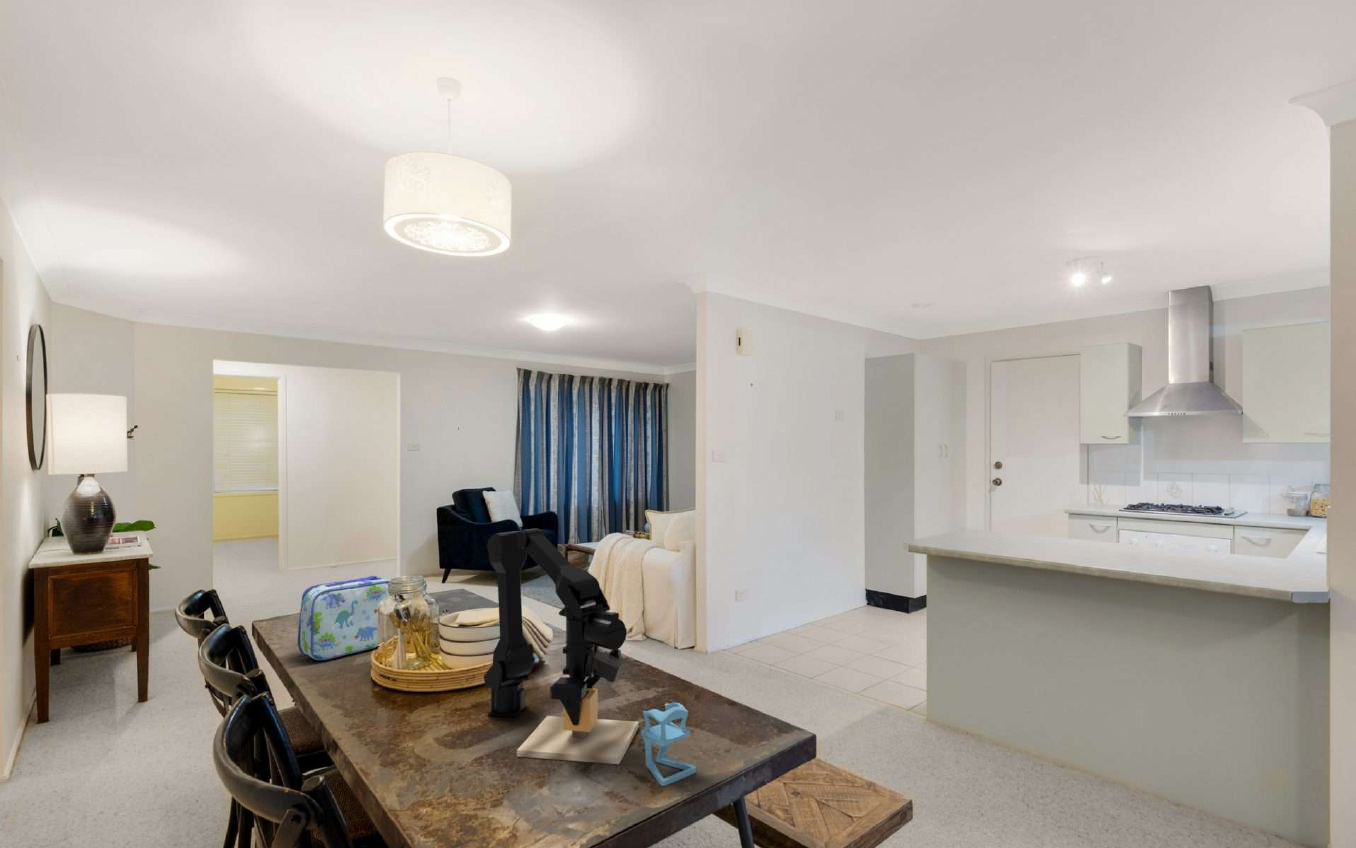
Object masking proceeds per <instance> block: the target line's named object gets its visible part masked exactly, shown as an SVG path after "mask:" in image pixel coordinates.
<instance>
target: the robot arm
mask: <svg viewBox="0 0 1356 848" xmlns="http://www.w3.org/2000/svg"><path fill="white" fill-rule="evenodd" d="M486 546H487V549H486V550H487V552H488V553H487V554H488V558H489V559H488V560H489V563H490V564H491V566H492V568H493V569H494V570H495V572H496V575H497V597H498V598H497V599H498V622H499V623H498V624H499V639H498V642H497V644H496V646H495V648H494V650H493V653H492V654H493V655H492V664H491V666H489V669H487V671H486V673H485V674H484V675H483V681H484V685H485V687H488V688H490V710H489V711H488V712H487V715H488V716H493V717H494V716H495V717H511V718H514V717H517V715H519V713H520V712H522V710H524V709H525V707H526V706H527V703H526V689H525V687H524V681H528V680H529V679H530V675H531V672H532V669H533V665H534V662H535V660H534V659H535V658H534V646H533V644H532V643H529V642H528V641H527V640H526V638H525V637H524V631H523V610H522V609H523V606H522V587H521V586H522V583H521V571H522V568H523V567H524V564H525V561H526V560H527V554H528V555H529V556H530V557H531V558H532V559H533V561H535V563H537V565H538V566H539V567H540V568H541V569H542V571H544V573H545V574H546V575H547V576H548V577H549V578H550V579H551V581H552V582H553V584H554V587H555V594H556V595H557V597H558V598H559V600H560V601H561V603H562V605H564V607H563V608H562V609H560V611H559V612H558V615H559V616H562V617H565V646H563V647H562V654H563V655H564V654H565V666H564V667H563V668H562V675H567V676H568V677H565V676H560V677H559V678H558V679H557V680H556V681H555V682H554V683H553V684H552V685H551V686H550V687H549V698H550V699H551V700H560V703H561V704H562V707H563V706H564V708H565V710H566V712H567V714H568V716H569V718H570V720H571V722H572V724H573V725H576V726H578V725H579V720H580V714H581V707H582V700H583V699H584V698H585V697H586V696H587V694H588V693H589V692H590V691H587V688H595V685H596V684H597V683H598V682H599V681H600V680H601V678H602V679H605V680H606V681H607V682H609V683H615V682H616V680H617V679H618V678H619V676H620V672H621V670H622V668H623V665H624V658H622V657H623V656H622V651H621V649H620V648H621V647H623V645H624V643H625V641H626V638H627V634H628V633H627V632H628V631H627V628H626V624H625V623H624V621H623V620H621V619H620V614H619V612H615V611H613V612H610V610H611V607H610V605H609V603H608V600H607V598H606V596H605V595H604V592H603V590H602V589H601V586H600V582H599V581H598V579H597V578H596V577H594V575H592V574H591V573H590V572H588V571H587V570H585V569H583V568H580V567H577V566H576V565H573V564H572V563H571V562H570V561H569V560H568V559H567V558H566V557H565V556H564V555H563V554H562V553H561V552H560V551H559V550H558V548H557V547H555V546H554V544H553V543H552V542H551V541H550V540H549V539H548V538H547V536H545V533H544V532H543V530H542V529H539V528H530V529H528V528H527V529H522V530H515V531H507V532H506V531H505V532H498V533H493V534H492V535H491V536H490V538H489V539H488V540H487V545H486ZM600 648H604V649H607V650H611V651H609V652H608V651H604V652H603V651H600Z"/></svg>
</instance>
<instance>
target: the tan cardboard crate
mask: <svg viewBox="0 0 1356 848" xmlns="http://www.w3.org/2000/svg"><path fill="white" fill-rule="evenodd" d="M587 691H590V692H589V693H588V694H587V696H586V697H585V698H584V699H583V700H582V707H581V714H580V720H579V725H578V726H576V725H573V724H572V722H571V720H570V718H569V716H568V714H567V712H566V710H565V708H564V706H563V705H562V707H563V709H562V711H563V712H562V713H563V714H562V717H563V730H568V731H582V732H590V731H591V729H592V728H593V727H594V725H595V724H596V722H597V721H598V719H599V717H598V716H599V715H598V714H599V713H598V712H599V711H598V710H599V709H598V706H599V705H598V704H599V703H598V701H599V700H598V696H599V695H598V691H599V689H598V688H595V687H594V688H587Z"/></svg>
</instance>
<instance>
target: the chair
mask: <svg viewBox="0 0 1356 848" xmlns="http://www.w3.org/2000/svg"><path fill="white" fill-rule="evenodd" d="M664 706H665V711H661V710H659V709H656V708H653V709H649V710H642V714H643V715H642V716H643V719H644V721H645V727H644V729H641V730H640V736H642V739H643V741H644V750H645V751H644V752H645V767H646V768H647V769H649V770H650V772H651V774H652V775H653V776H654V777H653V778H655V780H656V781H657V782H658V783H659V785H660V786H662V787H667V786H668V785H671V784H673V783H676V782H678V781H680V780H683V779H684V778H688V777H690V776H691V775H694V774H695V773H696V772H697V769H696V766H695V765H692V764H690V763H687V762H682V761H679V760H676V759H673V758H668V757H666V756H665V754H666V751H667V750H668V748H669V746H670V744H673V743H675V742H677V741H680V740H686V739H688V738H691V731H690V730H689V729H688V730H687V728H686V727H687V726H686V722H687V719H688V716H689V710H687V709H686V707H684V705H683V704H681V703H679V702H671V703H665V704H664ZM649 717H651V718H652V719H654V720H655V721H656V722H657V723H658V724H656V725H655V726H651V722H650V719H649ZM680 719H682V720H681V722H680V726H678V725H676V724H675V723H674V722H672V721H676V720H680ZM653 744H657V745H658V746H660V748H659V750H658V753H657V754H656V759H655V761H656V762H657V763H659V764H662V765H665V766H669V767H671V768H672V767H673V768H676V769H680V770H682V771H679V772H677V773H675V774H672V775H670V776H667V777H665V778H664V777H663V775H662V773H661V772H660V770H659V769H658V768H657V766H656V764H655V763H654V762H653V755H652V751H653V750H652V749H653V748H652V745H653Z"/></svg>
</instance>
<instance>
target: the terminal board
mask: <svg viewBox="0 0 1356 848" xmlns="http://www.w3.org/2000/svg"><path fill="white" fill-rule="evenodd" d="M638 730H639V721H633V720H632V721H631V720H617V719H603V718H602V719H601V718H598V721H597V722H596V724H595V725H594V727H593V728H592V729H591V731H590V732H582V731H568V730H563V716H555V715H547V716H546V717H545V718H544V719H543V720H542V721H541V722H540V724H538V726H537V727H536V728H535V729H534V730H533V732H532V733H530V735H529V736H528V737H527V738H525V739H526V740H525V741H523V742H522V744H521V745H520V746H519V748H517V750H516V756H517V757H518V758H519V757H520V758H531V759H533V758H534V759H546V760H558V761H559V760H560V761H573V762H586V763H595V764H596V763H598V764H611V765H612V764H613V765H620V764H621V762H622V760H623V758H624V755H625V754H626V752H627V750H628V748H629V747H630V744H631V742H632V741H633V738H634V737H635V735H636V733H637V731H638Z"/></svg>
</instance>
